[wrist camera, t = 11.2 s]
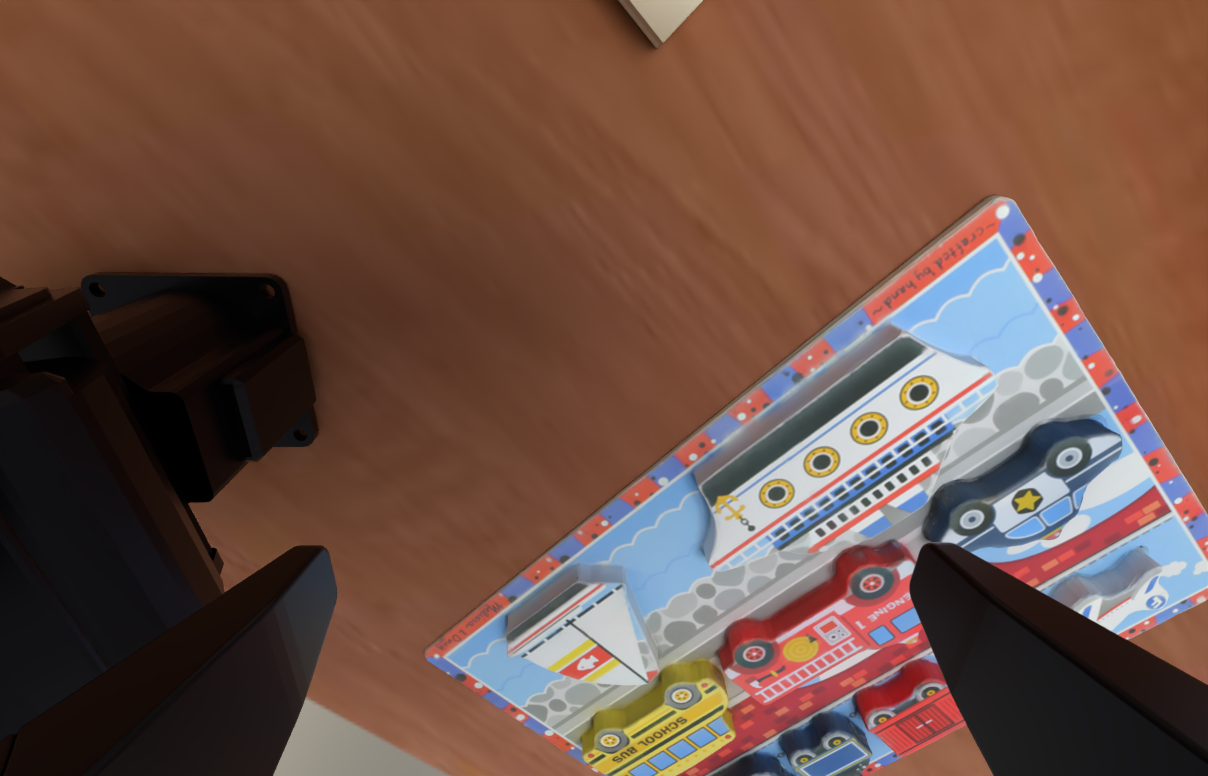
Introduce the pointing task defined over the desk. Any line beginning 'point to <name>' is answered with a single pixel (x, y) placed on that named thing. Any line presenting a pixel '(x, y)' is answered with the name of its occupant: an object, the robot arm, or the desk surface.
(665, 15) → the gear board
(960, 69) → the desk surface
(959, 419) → the puzzle board
